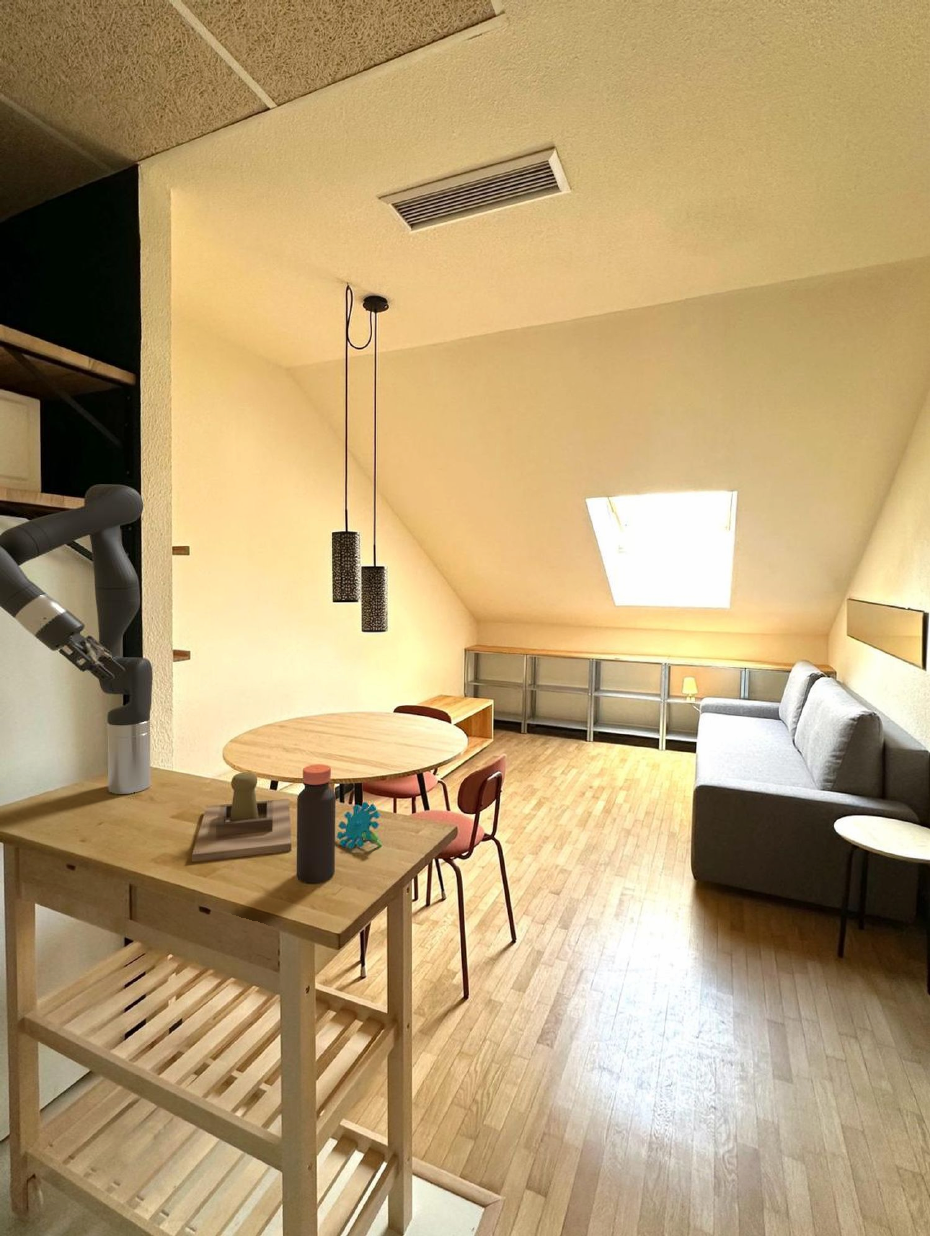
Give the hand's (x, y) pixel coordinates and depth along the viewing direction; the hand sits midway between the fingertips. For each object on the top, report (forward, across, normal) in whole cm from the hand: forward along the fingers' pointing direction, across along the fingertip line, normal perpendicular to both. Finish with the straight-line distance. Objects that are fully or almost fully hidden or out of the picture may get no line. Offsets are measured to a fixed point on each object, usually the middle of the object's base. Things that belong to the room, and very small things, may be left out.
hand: (116, 677), depth 119 cm
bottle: (+51, -30, -4) cm, 59 cm away
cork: (+40, -8, +4) cm, 41 cm away
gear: (+57, -20, -11) cm, 62 cm away
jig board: (+41, -7, +5) cm, 42 cm away
